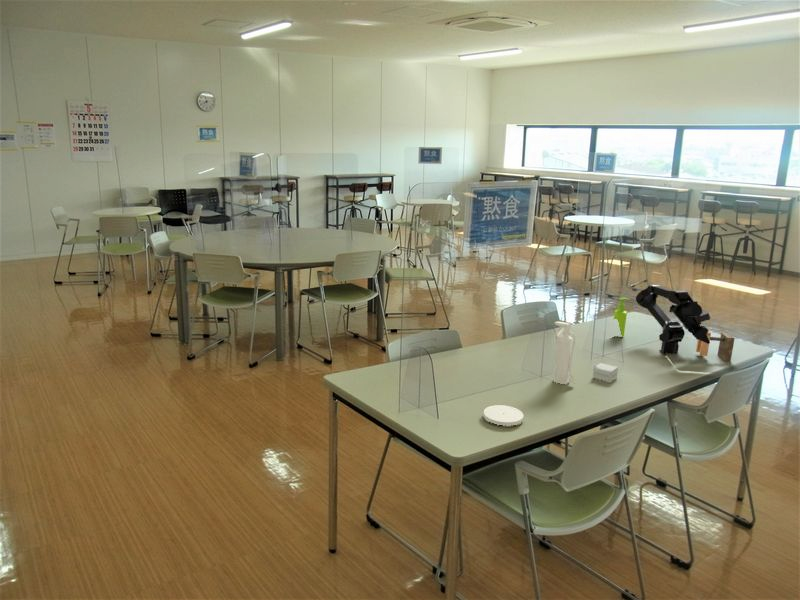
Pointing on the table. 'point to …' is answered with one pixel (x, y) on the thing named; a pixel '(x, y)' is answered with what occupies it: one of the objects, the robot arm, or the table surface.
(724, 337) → the walnut stand
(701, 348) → the C-link
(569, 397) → the table surface
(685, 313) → the robot arm
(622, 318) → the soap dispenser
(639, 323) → the table surface
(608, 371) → the small box
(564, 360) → the spray bottle
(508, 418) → the plastic lid
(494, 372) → the table surface
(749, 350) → the table surface
